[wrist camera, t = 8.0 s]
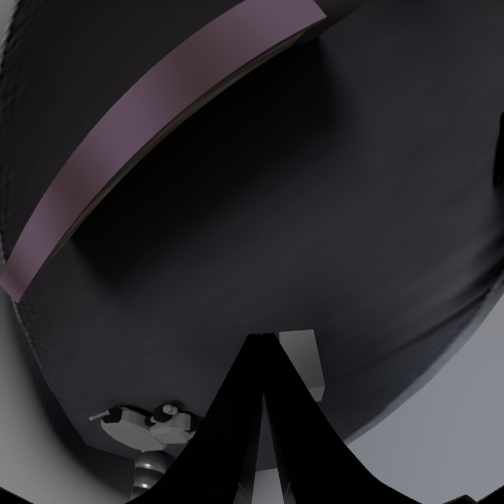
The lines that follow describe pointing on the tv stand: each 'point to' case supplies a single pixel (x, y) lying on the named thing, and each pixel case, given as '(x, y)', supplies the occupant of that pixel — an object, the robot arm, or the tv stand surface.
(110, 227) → the tv stand surface
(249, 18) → the beige flat panel
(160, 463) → the plastic bottle
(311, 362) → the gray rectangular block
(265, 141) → the tv stand surface
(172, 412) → the robot toy
